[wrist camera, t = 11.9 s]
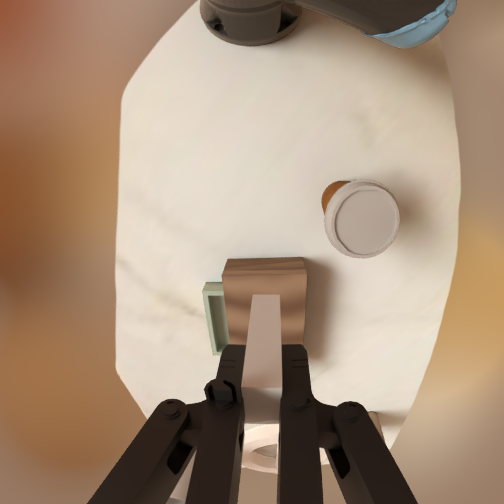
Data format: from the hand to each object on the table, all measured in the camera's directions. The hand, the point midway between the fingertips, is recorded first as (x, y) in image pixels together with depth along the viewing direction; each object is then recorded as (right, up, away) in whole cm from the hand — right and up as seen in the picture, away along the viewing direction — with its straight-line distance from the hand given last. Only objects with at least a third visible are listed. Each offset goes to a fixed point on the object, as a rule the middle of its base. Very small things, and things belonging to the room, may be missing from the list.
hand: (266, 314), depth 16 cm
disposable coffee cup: (+13, +11, +25) cm, 30 cm away
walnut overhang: (+2, -8, +33) cm, 34 cm away
